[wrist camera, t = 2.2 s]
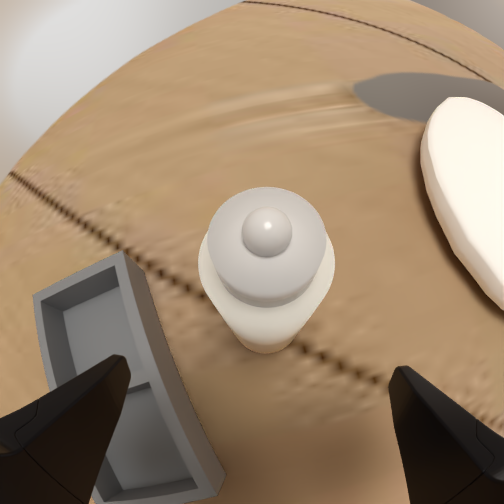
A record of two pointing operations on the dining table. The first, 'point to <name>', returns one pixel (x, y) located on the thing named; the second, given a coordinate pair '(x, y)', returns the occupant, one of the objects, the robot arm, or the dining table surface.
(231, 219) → the salt mill
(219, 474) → the condiment caddy
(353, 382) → the dining table surface
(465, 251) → the plate
